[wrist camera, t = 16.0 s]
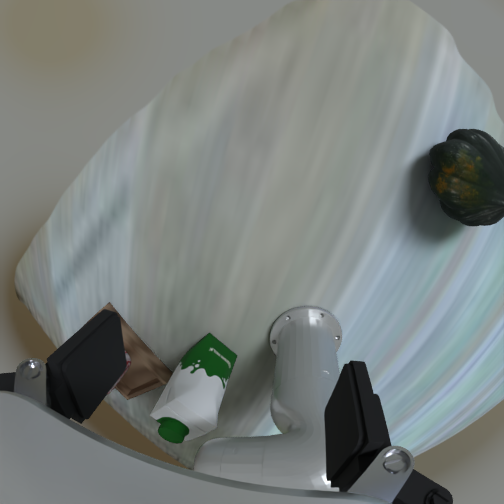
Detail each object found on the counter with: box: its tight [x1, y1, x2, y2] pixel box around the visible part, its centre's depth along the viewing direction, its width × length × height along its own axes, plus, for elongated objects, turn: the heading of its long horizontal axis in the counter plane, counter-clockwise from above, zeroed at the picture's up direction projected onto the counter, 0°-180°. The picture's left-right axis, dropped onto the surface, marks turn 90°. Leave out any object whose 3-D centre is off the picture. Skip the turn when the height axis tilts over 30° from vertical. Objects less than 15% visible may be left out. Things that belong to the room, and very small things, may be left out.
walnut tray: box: [86, 302, 172, 400], centre depth 54 cm, size 20×16×4 cm
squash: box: [428, 129, 504, 226], centre depth 30 cm, size 14×15×15 cm
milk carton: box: [150, 333, 237, 443], centre depth 42 cm, size 9×9×20 cm
